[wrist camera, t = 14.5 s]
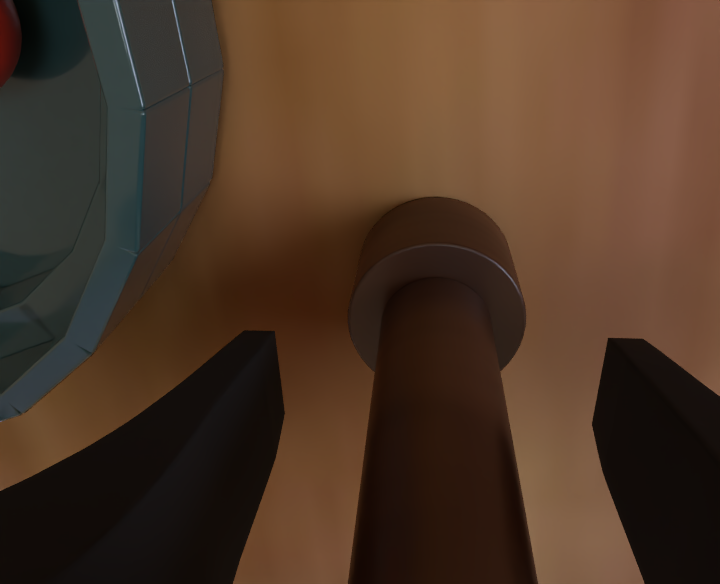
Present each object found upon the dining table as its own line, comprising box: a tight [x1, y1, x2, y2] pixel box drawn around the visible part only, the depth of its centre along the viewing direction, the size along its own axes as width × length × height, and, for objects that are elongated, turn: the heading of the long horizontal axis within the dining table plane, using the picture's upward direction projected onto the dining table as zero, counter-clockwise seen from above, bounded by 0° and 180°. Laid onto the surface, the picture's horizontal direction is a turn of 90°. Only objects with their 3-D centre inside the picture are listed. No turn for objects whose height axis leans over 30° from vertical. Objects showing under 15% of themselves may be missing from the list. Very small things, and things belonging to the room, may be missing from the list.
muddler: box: [348, 197, 538, 584], centre depth 10 cm, size 4×4×11 cm
